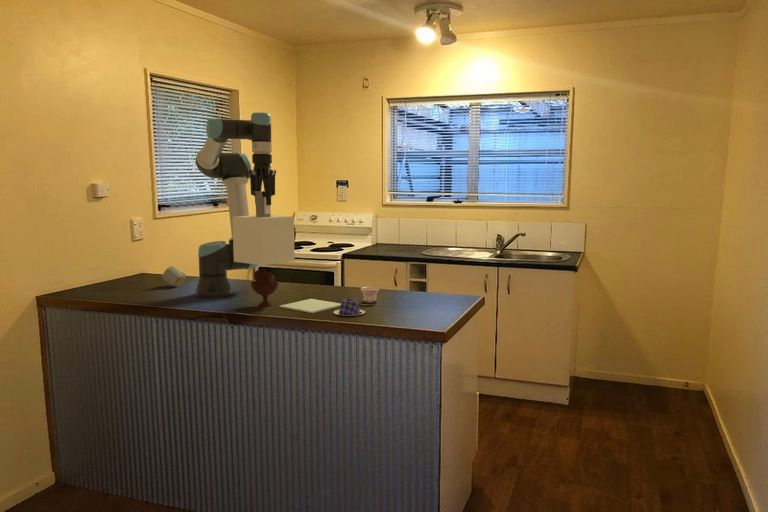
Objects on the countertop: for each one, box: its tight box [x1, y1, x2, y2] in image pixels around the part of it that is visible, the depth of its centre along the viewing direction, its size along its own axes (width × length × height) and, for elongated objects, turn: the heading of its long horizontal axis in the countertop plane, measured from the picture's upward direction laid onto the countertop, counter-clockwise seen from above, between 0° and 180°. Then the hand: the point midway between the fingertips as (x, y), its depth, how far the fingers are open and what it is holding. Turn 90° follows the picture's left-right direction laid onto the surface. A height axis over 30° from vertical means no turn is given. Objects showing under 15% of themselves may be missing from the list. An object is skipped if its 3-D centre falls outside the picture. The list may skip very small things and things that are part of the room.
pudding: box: [333, 298, 366, 317], centre depth 226 cm, size 12×12×5 cm
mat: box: [278, 298, 341, 314], centre depth 238 cm, size 18×18×1 cm
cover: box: [233, 190, 296, 266], centre depth 236 cm, size 17×17×28 cm
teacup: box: [358, 286, 380, 306], centre depth 245 cm, size 12×12×6 cm
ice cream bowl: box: [250, 268, 279, 308], centre depth 239 cm, size 11×11×15 cm
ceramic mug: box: [161, 265, 187, 288], centre depth 282 cm, size 11×8×8 cm
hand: (263, 213), depth 235 cm, fingers closed on cover, 4 cm apart
